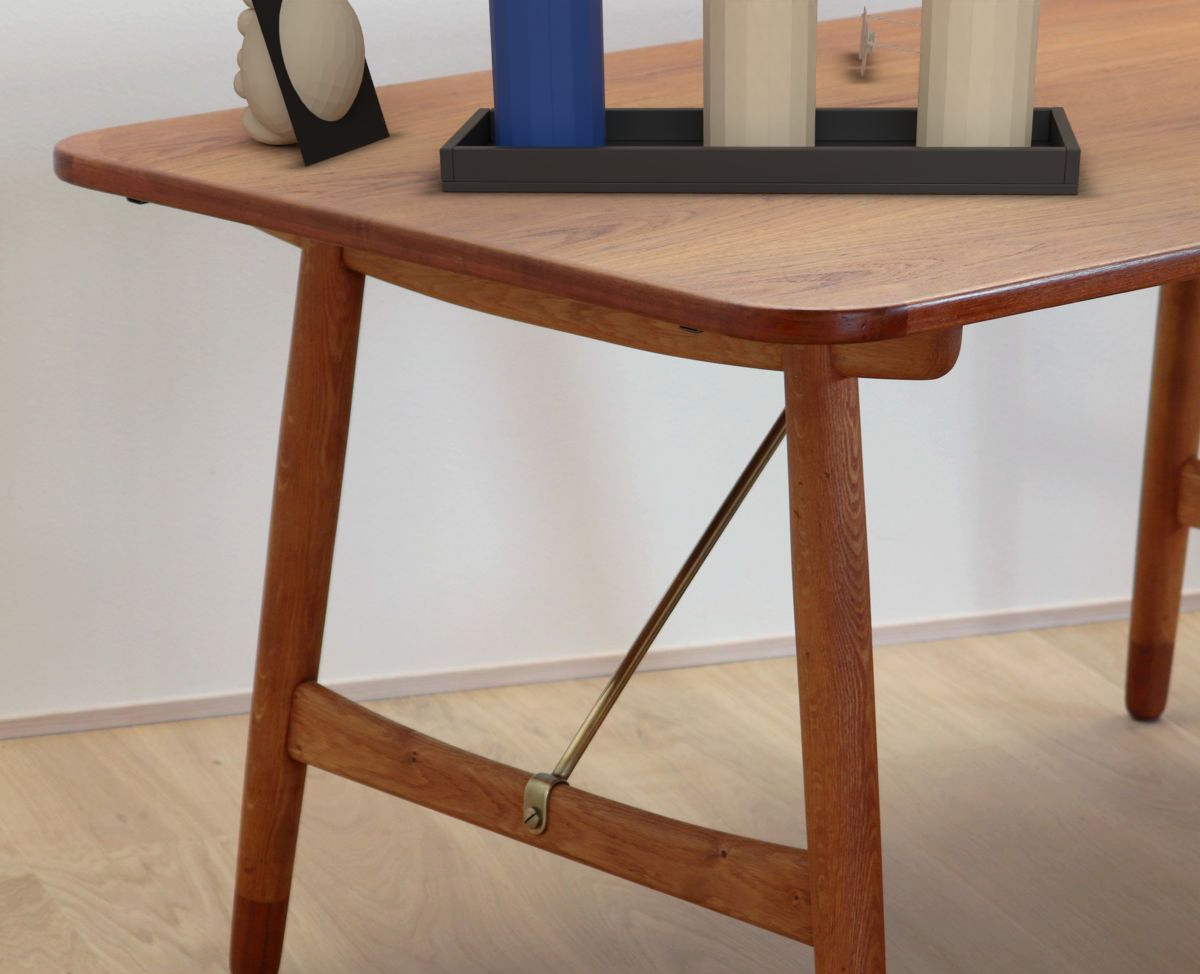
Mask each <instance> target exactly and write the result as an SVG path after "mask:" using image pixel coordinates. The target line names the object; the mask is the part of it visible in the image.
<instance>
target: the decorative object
mask: <svg viewBox="0 0 1200 974" xmlns="http://www.w3.org/2000/svg"><path fill="white" fill-rule="evenodd" d="M242 1H243V3H244V4H245V6H246V7H248V8H246V9H244V10H242V11H241V12H240V13H239V15H238V17H237V22H236V23H237V25H236V26H237V30H238V32H239V34H241V36H243V39H242V40H243V41H242V44H241V48H240V49H239V50H238V52H237V54H236V55H237V56H236V63H237V66H238V68H239V71H237V72H236V73H235V75H234V78H233V82H232V83H233V84H232V85H233V90H234V93H235V94H236V95H237V96H238V97H240V98H241V99H244V100H246V103H247V106H246V107H245V109H244V110H243V112H242V114H241V121H240V123H241V126H242V128H243V131H244V132H245V133H246V134H247V135H248V136H249V137H251V138H252V139H253V140H255V141H257V142H259V143H261V144H267V145H273V146H274V145H275V146H285V145H293V144H297V145H298V149H299V152H300V155H301V157H302V160H303V163H304V167H306V168H307V167H308V166H312V165H314V164H317V163H319V162H323V161H325V160H329V159H331V158H333V157H337V156H339V155H342V154H345V153H348V152H350V151H354V150H356V149H360V148H362V147H365V146H368V145H370V144H373V143H376V142H379V141H381V140H384V139H387V138H389V137H390V132H389V128H388V126H387V123H386V119H385V117H384V113H383V110H382V106H381V103H380V99H379V97H378V94H377V90H376V87H375V83H374V81H373V77H372V74H371V71H370V68H369V65H368V60H367V58H366V46H365V37H364V34H363V29H362V26H361V22H360V20H359V16H358V15H357V12H356V11H355V9H354V8H353V6H352V5H351V3H350V2H349V0H242Z"/></svg>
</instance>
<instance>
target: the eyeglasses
mask: <svg viewBox="0 0 1200 974" xmlns="http://www.w3.org/2000/svg"><path fill="white" fill-rule="evenodd" d="M862 12H863V13H861V18H862V21H861V22H862V23H861V31H860V32H861V33H860V34H861V35H860V42H859V51H858V60H859V61H861V68H860V72H861V73H860V77H861V78H864V77H865V72H866V65H867V57H868V53H870V54H871V53H872V52H874V49H875V47H880V48H883V49H890V50H891V49H892V50H898V51H902V52H903V51H904V52H910V53H915V54H920V50H915V49H910V48H905V47H904V48H903V47H898V46H892V45H888V44H884V43H883V44H882V43H877V36H876V31H875V30H870V23H869V19H875V20H881V21H888V22H893V23H899V24H905V25H912V26H916V27H917V26H918V27H921V24H919V23H914V22H907V21H902V20H897V19H893V18H886V17H882V16H875V15H869V14H868V13H867V8H866V6H865V5H864V6H863V11H862ZM868 18H869V19H868Z"/></svg>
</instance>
